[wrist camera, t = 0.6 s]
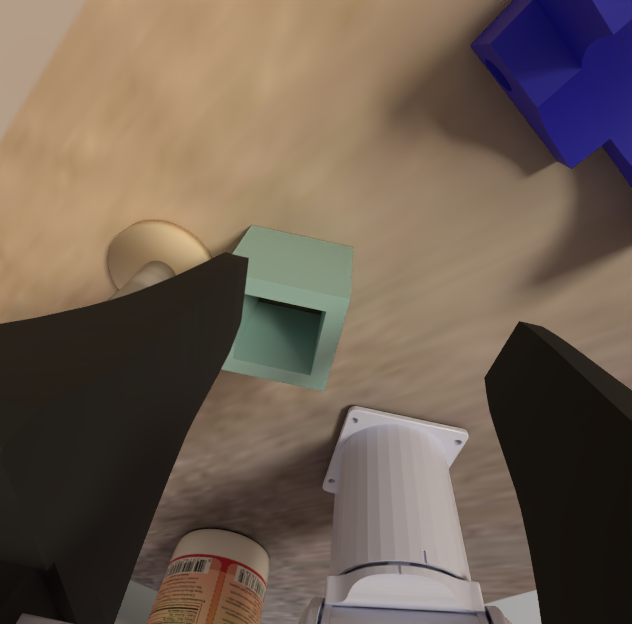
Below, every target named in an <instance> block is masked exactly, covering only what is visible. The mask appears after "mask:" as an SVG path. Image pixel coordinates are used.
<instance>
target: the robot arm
mask: <svg viewBox="0 0 632 624" xmlns="http://www.w3.org/2000/svg"><path fill="white" fill-rule="evenodd" d="M248 262H249V258H247V257H243V256H238V255H234V254H230V253H223V254H221V255H218V256H216V257H214V258H212V259H210V260H208V261H206V262H204V263H202V264H200V265H198V266H195V267H193V268H191V269H189V270H187V271H185V272H182V273H180V274H178V275H176V276H174V277H171V278H169V279H166V280H164V281H162V282H159V283H157V284H154V285H152V286H149V287H147V288H144V289H142V290H139V291H136V292H133V293H131V294H128V295H125V296H122V297H119V298H115V299H112V300H108V301H105V302H102V303H98V304H95V305H91V306H87V307H83V308H78V309H74V310H69V311H65V312H60V313H56V314H51V315H47V316H42V317H38V318H32V319H27V320H21V321H15V322H9V323H3V324H0V624H114V622H115V620H116V617H117V614H118V611H119V609H120V606H121V603H122V600H123V597H124V595H125V592H126V589H127V586H128V583H129V581H130V578H131V575H132V573H133V570H134V567H135V564H136V561H137V559H138V556H139V554H140V551H141V548H142V546H143V543H144V540H145V538H146V535H147V532H148V530H149V527H150V524H151V522H152V519H153V517H154V514H155V511H156V509H157V506H158V504H159V501H160V499H161V496H162V494H163V491H164V489H165V486H166V483H167V481H168V478H169V476H170V473H171V471H172V468H173V466H174V464H175V461H176V459H177V456H178V454H179V451H180V449H181V447H182V444H183V442H184V439H185V437H186V434H187V432H188V430H189V428H190V426H191V424H192V422H193V420H194V418H195V416H196V414H197V412H198V411H199V409H200V407H201V405H202V403H203V401H204V400H205V398H206V396H207V394H208V392H209V390H210V389H211V387H212V385H213V383H214V381H215V379H216V377H217V376H218V374H219V372H220V370H221V368H222V366H223V364H224V363H225V361H226V359H227V357H228V355H229V353H230V351H231V348H232V346H233V343H234V340H235V338H236V335H237V332H238V330H239V327H240V324H241V320H242V312H243V304H244V295H245V287H246V278H247V270H248ZM485 385H486V393H487V399H488V405H489V410H490V414H491V417H492V420H493V424H494V427H495V430H496V433H497V436H498V439H499V442H500V445H501V448H502V451H503V454H504V457H505V460H506V463H507V466H508V469H509V472H510V475H511V478H512V481H513V484H514V487H515V490H516V494H517V497H518V501H519V504H520V508H521V512H522V517H523V521H524V526H525V531H526V535H527V540H528V545H529V549H530V555H531V561H532V566H533V572H534V577H535V583H536V589H537V594H538V601H539V608H540V616H541V623H542V624H632V390H631V389H629V388H628V387H626V386H625V385H624V384H622V383H621V382H620V381H618V380H617V379H616V378H614V377H613V376H611V375H610V374H609V373H607V372H606V371H605V370H603V369H602V368H601V367H599V366H598V365H597V364H595V363H594V362H593V361H591V360H590V359H589V358H587V357H586V356H585V355H583V354H582V353H581V352H579V351H578V350H577V349H575V348H574V347H573V346H571V345H570V344H568V343H567V342H566V341H564V340H563V339H561V338H560V337H558V336H557V335H555V334H554V333H552V332H551V331H549V330H547V329H545V328H544V327H542V326H537V325H533V324H529V323H525V322H520V321H519V322H518V324H517V326H516V327H515V329H514V331H513V332H512V334H511V335H510V337H509V339H508V340H507V342H506V344H505V345H504V347H503V348H502V350H501V352H500V353H499V355H498V357H497V358H496V360H495V361H494V363H493V365H492V366H491V368H490V370H489V371H488V373H487V375H486V376H485ZM353 418H356V419H353ZM467 440H468V433H467V431H466V430H465V429H462V428H457V427H453V426H448V425H443V424H439V423H434V422H429V421H424V420H420V419H415V418H410V417H406V416H401V415H396V414H392V413H387V412H382V411H378V410H373V409H368V408H364V407H359V406H353V407H351V408H349V410H348V413H347V415H346V418H345V421H344V424H343V427H342V430H341V433H340V436H339V439H338V441H337V444H336V447H335V450H334V453H333V456H332V459H331V462H330V464H329V467H328V470H327V473H326V476H325V479H324V482H323V489H324V490H325V491H327V492H331V493H335V500H334V514H333V529H332V543H331V558H330V576H327V577H326V590H325V598H321V597H315V598H314V599H312V601H311V602H310V604H309V606H308V607H307V608H306V610H305V611H304V612H303V613H302V615H301V617H300V620H299V623H298V624H512V623H511V622H509V620H508V619H507V618H506V617H505V616H504V615H503V613H502V612H501V611H500V609H499V608H497V607H496V606H484V603H483V599H482V594H481V589H480V585H479V583H478V582H474V581H471V577H470V572H469V568H468V563H467V558H466V553H465V548H464V543H463V538H462V533H461V528H460V523H459V518H458V513H457V508H456V504H455V499H454V494H453V489H452V484H451V479H450V474H449V468H450V466H451V464H452V463H453V461H454V460H455V458H456V457H457V455H458V454H459V452H460V450H461V449H462V447H463V446H464V444H465V443H466V441H467Z"/></svg>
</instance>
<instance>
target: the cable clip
mask: <svg viewBox="0 0 632 624" xmlns="http://www.w3.org/2000/svg"><path fill="white" fill-rule="evenodd" d="M470 46H471V48H472V49H473V50H474V52H475V53H476V54H477V55H478V57H479V58H480V59H481V61H482V62H483V63H484V65H485V66H486V67H487V69H488V70H489V71H490V73H491V74H492V75H493V77H494V78H495V79H496V81H497V82H498V83H499V84H500V86H501V87H502V88H503V90H504V91H505V92H506V94H507V95H508V96H509V98H510V99H511V100H512V102H513V103H514V104H515V106H516V107H517V108H518V109H519V111H520V112H521V113H522V115H523V116H524V117H525V119H526V120H527V121H528V123H529V124H530V125H531V127H532V128H533V129H534V131H535V132H536V133H537V134H538V136H539V137H540V138H541V140H542V141H543V142H544V144H545V145H546V146H547V148H548V149H549V150H550V152H551V153H552V154H553V156H554V157H555V158H556V159H557V161H558V162H560V163H562V164H564V165H566V166H568V167H569V168H571V169H572V168H573V167H574V166H576V165H577V164H578V163H580V162H581V161H582V160H584V159H585V158H586V157H587V156H589V155H590V154H591V153H593V152H594V151H595V150H597V149H598V148H599V147H600V146H603V147H604V149H605V150H606V152H607V153H608V154H609V156H610V157H611V159H612V160H613V162H614V163H615V164H616V166H617V167H618V169H619V170H620V172H621V173H622V175H623V176H624V177H625V179H626V180H627V182H628V183H629V185H630V186H631V187H632V0H513V1H512V2H511V3H510V4H509V5H508V6H507V7H506V8H505V9H504V10H503V11H502V12H501V13H500V15H499V16H498V17H497V18H496V19H495V20H494V21H493V22H492V23H491V24H490V25H489V26H488V27H487V28H486V29H485V30H484V31H483V32H482V34H481V35H480V36H479V37H478V38H477V39H476V40H475V41H474V42H473V43H472V44H471V45H470Z"/></svg>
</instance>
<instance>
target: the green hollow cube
mask: <svg viewBox="0 0 632 624" xmlns="http://www.w3.org/2000/svg"><path fill="white" fill-rule="evenodd" d="M233 254H234V255H238V256H243V257H247V258H249V262H248V270H247V278H246V287H245V295H244V304H243V312H242V320H241V324H240V327H239V330H238V332H237V335H236V338H235V340H234V343H233V346H232V348H231V351H230V353H229V355H228V357H227V359H226V361H225V363H224V364H223V366H222V368H221V370H226V371H231V372H235V373H240V374H245V375H249V376H254V377H259V378H263V379H268V380H273V381H277V382H282V383H287V384H291V385H296V386H301V387H306V388H310V389H315V390H320V391H325V387H326V384H327V380H328V377H329V373H330V369H331V366H332V362H333V359H334V355H335V352H336V348H337V345H338V341H339V338H340V334H341V331H342V327H343V324H344V320H345V317H346V313H347V310H348V306H349V303H350V298H351V280H352V263H353V247H349V246H344V245H340V244H335V243H331V242H326V241H322V240H317V239H313V238H308V237H304V236H299V235H294V234H290V233H285V232H281V231H276V230H272V229H267V228H263V227H258V226H254V225H251V227H250V228H249V230H248V231H247V233H246V234H245V236H244V237H243V239H242V240H241V242H240V243H239V245H238V246H237V248H236V249H235V251H234V252H233ZM259 297H261V298H266V299H270V300H275V301H280V302H284V303H289V304H293V305H298V306H303V307H307V308H312V309H316V310H321V311H322V312H321V315H319V314H314V313H310V312H305V311H300V310H296V309H291V308H287V307H282V306H277V305H273V304H268V303H264V302H259V301H258V299H259Z"/></svg>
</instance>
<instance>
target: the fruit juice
mask: <svg viewBox="0 0 632 624" xmlns="http://www.w3.org/2000/svg"><path fill="white" fill-rule="evenodd" d="M268 575H269V558H268V555H267V553H266V551H265V550H264V549H263V548H262V547H261V546H260V545H259V544H258V543H256V542H255V541H253V540H251V539H250V538H248V537H245V536H243V535H240V534H238V533H234V532H231V531H226V530H220V529H201V530H196V531H192V532H190V533H188V534H186V535H185V536H184V537H183V538H182V539H181V540H180V541H179V543H178V545H177V547H176V549H175V551H174V553H173V556H172V558H171V561H170V563H169V566H168V569H167V571H166V574H165V576H164V579H163V582H162V584H161V587H160V589H159V592H158V595H157V597H156V600H155V603H154V605H153V608H152V610H151V613H150V615H149V618H148V621H147V623H146V624H260V618H261V613H262V607H263V602H264V597H265V591H266V586H267V580H268Z"/></svg>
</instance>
